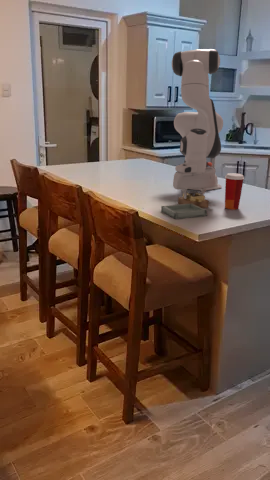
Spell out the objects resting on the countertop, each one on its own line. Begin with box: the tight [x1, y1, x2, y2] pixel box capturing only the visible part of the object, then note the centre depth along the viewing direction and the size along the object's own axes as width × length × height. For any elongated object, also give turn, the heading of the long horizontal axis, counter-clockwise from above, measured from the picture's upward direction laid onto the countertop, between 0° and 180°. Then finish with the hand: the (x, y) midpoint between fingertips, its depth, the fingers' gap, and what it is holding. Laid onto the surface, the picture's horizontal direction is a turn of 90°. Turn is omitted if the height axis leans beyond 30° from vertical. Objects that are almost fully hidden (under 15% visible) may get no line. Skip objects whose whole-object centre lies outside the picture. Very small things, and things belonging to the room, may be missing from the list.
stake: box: [187, 190, 199, 196], centre depth 194 cm, size 5×1×4 cm, turn 114°
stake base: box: [177, 196, 210, 209], centre depth 195 cm, size 10×10×3 cm
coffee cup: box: [224, 172, 245, 211], centre depth 191 cm, size 8×8×15 cm
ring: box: [182, 192, 206, 202], centre depth 193 cm, size 10×6×2 cm, turn 24°
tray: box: [160, 204, 208, 220], centre depth 181 cm, size 15×12×2 cm
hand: (193, 197), depth 194 cm, fingers closed on ring, 6 cm apart
